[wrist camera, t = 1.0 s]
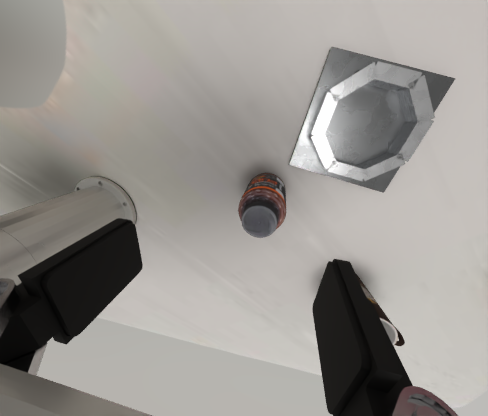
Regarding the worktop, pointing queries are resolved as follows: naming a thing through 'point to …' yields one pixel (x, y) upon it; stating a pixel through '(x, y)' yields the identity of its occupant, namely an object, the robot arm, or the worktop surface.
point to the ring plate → (367, 118)
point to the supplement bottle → (263, 205)
